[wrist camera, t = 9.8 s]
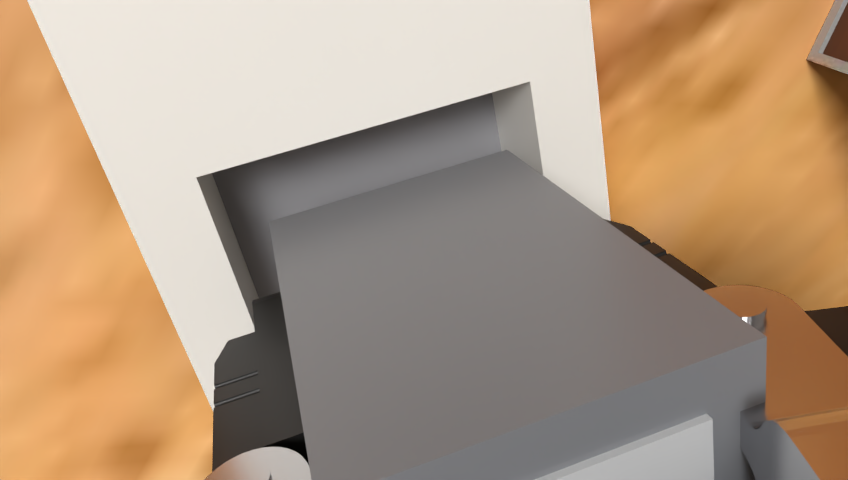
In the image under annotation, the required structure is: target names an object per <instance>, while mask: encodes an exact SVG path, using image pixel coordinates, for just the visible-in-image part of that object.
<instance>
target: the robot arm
mask: <svg viewBox="0 0 848 480" xmlns="http://www.w3.org/2000/svg"><path fill="white" fill-rule="evenodd" d="M604 220H606V219H604ZM606 221H607V222H608V223H610V224H611V225H613V226H614V227H615V228H617V229H618V230H619V231H621V232H622V233H624V234H625V235H626V236H628V237H629V238H631V239H632V240H633V241H635V242H636V243H638V244H639V245H640V246H642V247H643V248H644V249H646V250H647V251H649V252H650V253H651V254H653V255H654V256H656V257H657V258H658V259H660V260H661V261H663V262H664V263H665V264H667V265H668V266H669V267H671V268H672V269H674V270H675V271H676V272H678V273H679V274H681V275H682V276H683V277H685V278H686V279H688V280H689V281H690V282H692V283H693V284H694V285H696V286H697V287H699V288H700V289H701V290H703V291H704V292H706V293H707V294H708V295H710V296H711V297H713V298H714V299H715V300H717V301H718V302H719V303H721V304H722V305H724V306H725V307H726V308H728V309H729V310H731V311H732V312H733V313H735V314H736V315H738V316H739V317H740V318H742V319H743V320H744V321H746V322H747V323H749V324H750V325H751V326H753V327H754V328H756V329H757V330H758V331H760V332H761V333H763V334H764V335H765V336H767V353H766V402H763V403H761V404H758V405H756V406H753V407H750V408H748V409H745V410H743V411H740V449H741V450H742V452H743V454H744V455H745V457H746V459H747V461H748V463H749V465H750V467H751V469H752V471H753V474H754V477H755V480H848V306H845V307H837V308H829V309H821V310H813V311H803V310H802V309H801V308H800V307H799V305H798V304H796V303H795V302H794V301H793V300H792V299H790V298H788V297H787V296H785V295H783V294H781V293H778V292H776V291H773V290H770V289H766V288H762V287H757V286H749V285H727V286H720V287H717V286H716V285H714V284H713V283H712V282H710V281H709V280H707V279H706V278H704V277H703V276H701V275H700V274H699V273H697V272H696V271H694V270H693V269H691V268H690V267H688V266H687V265H686V264H684V263H683V262H681V261H680V260H678V259H677V258H675V257H674V256H673V255H671V254H667V253H666V251H665V250H664V249H662V248H661V247H660V246H658V245H657V244H655V243H654V242H653V243H651V242H650V240H649V239H648V238H647V237H645V236H644V235H642V234H641V233H639V232H638V231H636V230H635V229H634V228H632V227H631V226H627V225H624V224H620V223H616V222H613V221H609V220H606ZM252 305H253V317H254V329H255V332H253V333H250V334H247V335H244V336H240V337H237V338H234V339H231V340H228V342H227V343H226V345H225V347H224V348H223V350H222V352H221V353H220V355H219V357H218V358H217V360H216V362H215V363H214V387H215V389H214V406H215V408H214V412H213V467H212V473H211V474H210V475H209V476H207V477H206V479H205V480H311V474H310V468H309V462H308V456H307V450H306V444H305V438H304V432H303V426H302V419H301V413H300V407H299V401H298V395H297V389H296V383H295V377H294V371H293V365H292V359H291V353H290V347H289V341H288V335H287V329H286V323H285V317H284V311H283V305H282V299H281V293H280V292H277V293H274V294H271V295H268V296H265V297H261V298H258V299H255V300H253V301H252Z"/></svg>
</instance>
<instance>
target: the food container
mask: <svg viewBox="0 0 848 480" xmlns="http://www.w3.org/2000/svg"><path fill="white" fill-rule="evenodd" d="M807 60H809V61H811V62H814V63H817V64H820V65H823V66H826V67H828V68H831V69H834V70H837V71H840V72H843V73H845V74H848V0H835V2H834V4H833V6H832V8H831V10H830V12H829V14H828V16H827V18H826V20H825V22H824V24H823V26H822V29H821V31H820V33H819V35H818V37H817V39H816V41H815V43H814V45H813V47H812V49H811V51H810V53H809V55H808V57H807Z"/></svg>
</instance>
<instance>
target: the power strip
mask: <svg viewBox="0 0 848 480" xmlns="http://www.w3.org/2000/svg"><path fill="white" fill-rule="evenodd" d="M27 1H28V3H29V5H30V7H31V10H32V12H33V14H34V16H35V19H36V21H37V23H38V25H39V27H40V30H41V32H42V34H43V36H44V38H45V41H46V43H47V45H48V47H49V49H50V52H51V54H52V56H53V58H54V61H55V63H56V65H57V67H58V69H59V72H60V74H61V76H62V78H63V80H64V83H65V85H66V87H67V89H68V91H69V94H70V96H71V98H72V100H73V103H74V105H75V107H76V109H77V111H78V114H79V116H80V118H81V120H82V122H83V125H84V127H85V129H86V131H87V134H88V136H89V138H90V140H91V142H92V145H93V147H94V149H95V151H96V153H97V156H98V158H99V160H100V162H101V164H102V167H103V169H104V171H105V173H106V176H107V178H108V180H109V182H110V184H111V187H112V189H113V191H114V193H115V195H116V198H117V200H118V202H119V204H120V206H121V209H122V211H123V213H124V215H125V218H126V220H127V222H128V224H129V226H130V229H131V231H132V233H133V235H134V237H135V240H136V242H137V244H138V246H139V249H140V251H141V253H142V255H143V257H144V260H145V262H146V264H147V266H148V268H149V271H150V273H151V275H152V277H153V279H154V282H155V284H156V286H157V288H158V291H159V293H160V295H161V297H162V299H163V302H164V304H165V306H166V308H167V310H168V313H169V315H170V317H171V319H172V321H173V324H174V326H175V328H176V330H177V333H178V335H179V337H180V339H181V341H182V344H183V346H184V348H185V350H186V352H187V355H188V357H189V359H190V361H191V364H192V366H193V368H194V370H195V372H196V375H197V377H198V379H199V381H200V383H201V386H202V388H203V390H204V392H205V394H206V397H207V399H208V401H209V403H210V406H211V408H212V410H213V412H214V408H215V406H214V389H215V387H214V363H215V362H216V360H217V358H218V357H219V355H220V353H221V352H222V350H223V348H224V347H225V345H226V343H227V342H228V340H231V339H234V338H237V337H240V336H244V335H247V334H250V333H253V332H255V329H254V317H253V305H252V301H253V300H255V299H258V298H261V297H265V296H268V295H271V294H274V293H277V292H280V287H279V281H278V274H277V268H276V262H275V256H274V250H273V244H272V238H271V232H270V226H269V221H273V220H276V219H279V218H283V217H286V216H289V215H292V214H296V213H299V212H302V211H306V210H309V209H312V208H316V207H319V206H322V205H325V204H329V203H332V202H335V201H339V200H342V199H345V198H349V197H352V196H355V195H358V194H362V193H365V192H368V191H372V190H375V189H378V188H382V187H385V186H388V185H392V184H395V183H398V182H401V181H405V180H408V179H411V178H415V177H418V176H421V175H425V174H428V173H431V172H434V171H438V170H441V169H444V168H448V167H451V166H454V165H458V164H461V163H464V162H467V161H471V160H474V159H477V158H481V157H484V156H487V155H491V154H494V153H497V152H501V151H504V150H508V151H510V152H511V153H513V154H514V155H515V156H517V157H518V158H519V159H521V160H522V161H524V162H525V163H526V164H528V165H529V166H531V167H532V168H533V169H535V170H536V171H538V172H539V173H540V174H542V175H543V176H544V177H546V178H547V179H549V180H550V181H551V182H553V183H554V184H556V185H557V186H558V187H560V188H561V189H563V190H564V191H565V192H567V193H568V194H569V195H571V196H572V197H574V198H575V199H576V200H578V201H579V202H581V203H582V204H583V205H585V206H586V207H588V208H589V209H590V210H592V211H593V212H594V213H596V214H597V215H599V216H600V217H601V218H603V219H606V220H609V221H611V220H610V210H609V199H608V189H607V179H606V168H605V158H604V148H603V137H602V127H601V117H600V106H599V96H598V86H597V75H596V65H595V55H594V44H593V34H592V24H591V13H590V3H589V0H27Z"/></svg>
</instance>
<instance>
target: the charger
mask: <svg viewBox="0 0 848 480" xmlns="http://www.w3.org/2000/svg"><path fill="white" fill-rule="evenodd" d="M269 226H270V232H271V238H272V244H273V250H274V256H275V262H276V268H277V274H278V281H279V287H280V293H281V299H282V305H283V311H284V317H285V323H286V329H287V335H288V341H289V347H290V353H291V359H292V365H293V371H294V377H295V383H296V389H297V395H298V401H299V407H300V413H301V419H302V426H303V432H304V438H305V444H306V450H307V456H308V462H309V468H310V474H311V480H755V477H754V474H753V471H752V469H751V467H750V465H749V463H748V461H747V459H746V457H745V455H744V454H743V452H742V450H741V449H740V411H743V410H745V409H748V408H750V407H753V406H756V405H758V404H761V403H763V402H766V353H767V336H765V335H764V334H763V333H761V332H760V331H758V330H757V329H756V328H754V327H753V326H751V325H750V324H749V323H747V322H746V321H744V320H743V319H742V318H740V317H739V316H738V315H736V314H735V313H733V312H732V311H731V310H729V309H728V308H726V307H725V306H724V305H722V304H721V303H719V302H718V301H717V300H715V299H714V298H713V297H711V296H710V295H708V294H707V293H706V292H704V291H703V290H701V289H700V288H699V287H697V286H696V285H694V284H693V283H692V282H690V281H689V280H688V279H686V278H685V277H683V276H682V275H681V274H679V273H678V272H676V271H675V270H674V269H672V268H671V267H669V266H668V265H667V264H665V263H664V262H663V261H661V260H660V259H658V258H657V257H656V256H654V255H653V254H651V253H650V252H649V251H647V250H646V249H644V248H643V247H642V246H640V245H639V244H638V243H636V242H635V241H633V240H632V239H631V238H629V237H628V236H626V235H625V234H624V233H622V232H621V231H619V230H618V229H617V228H615V227H614V226H613V225H611V224H610V223H608V222H607V221H606V220H604V219H603V218H601V217H600V216H599V215H597V214H596V213H594V212H593V211H592V210H590V209H589V208H588V207H586V206H585V205H583V204H582V203H581V202H579V201H578V200H576V199H575V198H574V197H572V196H571V195H569V194H568V193H567V192H565V191H564V190H563V189H561V188H560V187H558V186H557V185H556V184H554V183H553V182H551V181H550V180H549V179H547V178H546V177H544V176H543V175H542V174H540V173H539V172H538V171H536V170H535V169H533V168H532V167H531V166H529V165H528V164H526V163H525V162H524V161H522V160H521V159H519V158H518V157H517V156H515V155H514V154H513V153H511V152H510V151H508V150H504V151H501V152H497V153H494V154H491V155H487V156H484V157H481V158H477V159H474V160H471V161H467V162H464V163H461V164H458V165H454V166H451V167H448V168H444V169H441V170H438V171H434V172H431V173H428V174H425V175H421V176H418V177H415V178H411V179H408V180H405V181H401V182H398V183H395V184H392V185H388V186H385V187H382V188H378V189H375V190H372V191H368V192H365V193H362V194H358V195H355V196H352V197H349V198H345V199H342V200H339V201H335V202H332V203H329V204H325V205H322V206H319V207H316V208H312V209H309V210H306V211H302V212H299V213H296V214H292V215H289V216H286V217H283V218H279V219H276V220H273V221H269Z"/></svg>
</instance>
